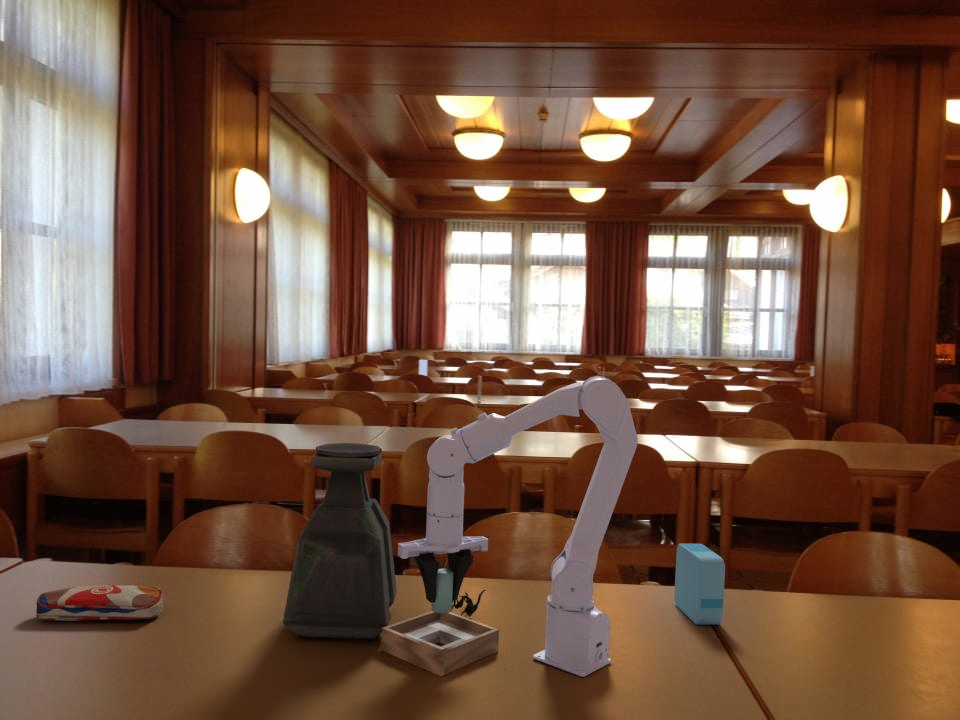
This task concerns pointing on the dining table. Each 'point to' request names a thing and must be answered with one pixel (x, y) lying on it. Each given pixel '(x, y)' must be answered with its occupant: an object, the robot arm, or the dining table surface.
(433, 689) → the dining table surface
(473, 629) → the box
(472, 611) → the creature
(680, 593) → the data package
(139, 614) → the pencil case
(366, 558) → the dark faceted flask
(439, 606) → the peg
